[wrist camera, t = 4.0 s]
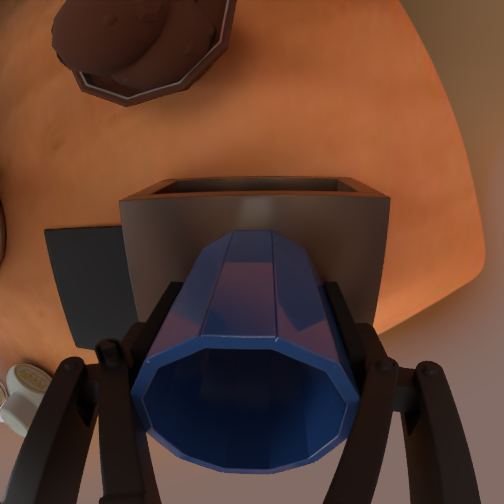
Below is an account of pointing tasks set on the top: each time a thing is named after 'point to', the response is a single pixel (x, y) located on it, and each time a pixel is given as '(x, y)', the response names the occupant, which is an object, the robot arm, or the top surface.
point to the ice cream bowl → (140, 44)
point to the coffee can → (2, 393)
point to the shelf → (258, 218)
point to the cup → (248, 362)
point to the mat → (93, 282)
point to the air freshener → (23, 396)
